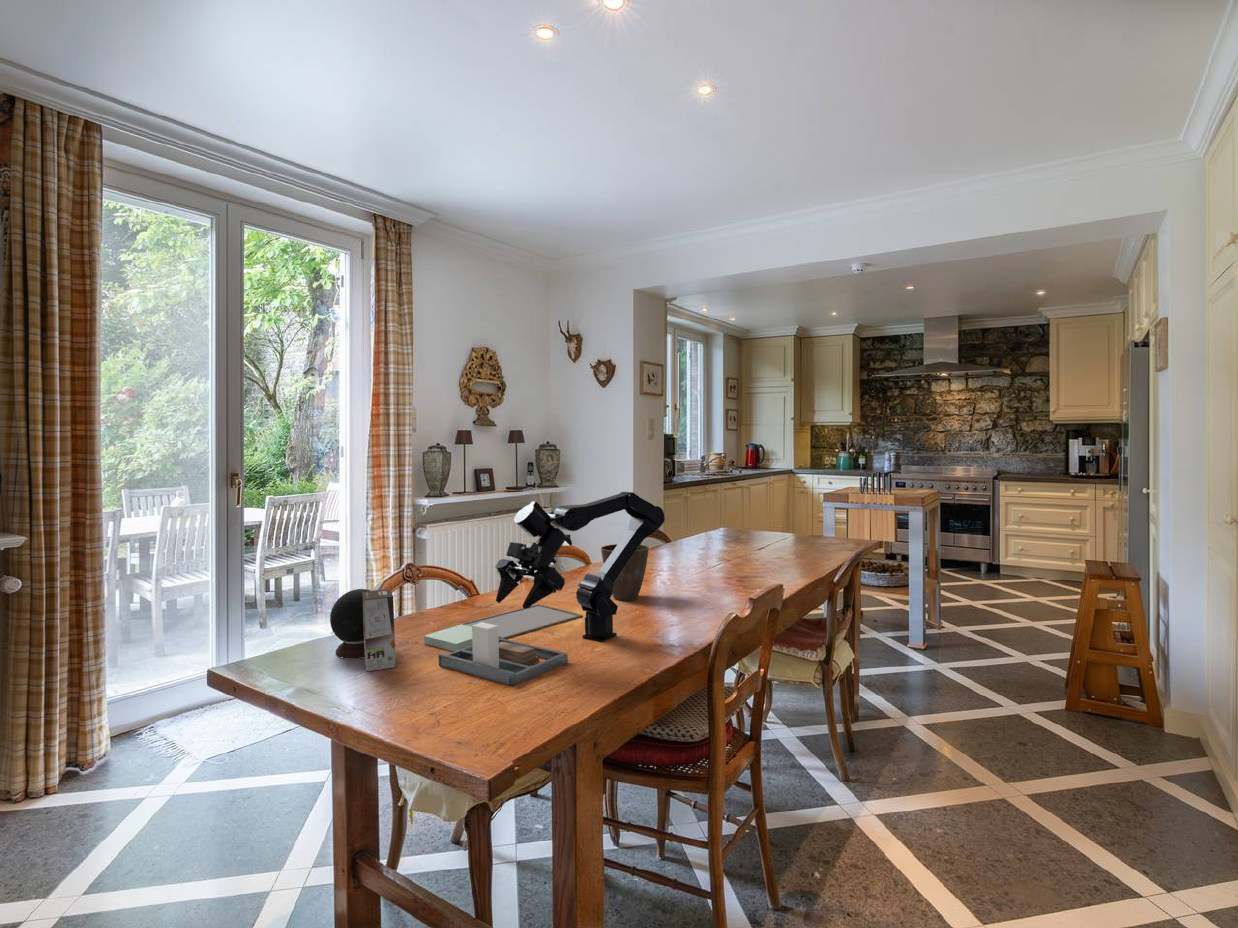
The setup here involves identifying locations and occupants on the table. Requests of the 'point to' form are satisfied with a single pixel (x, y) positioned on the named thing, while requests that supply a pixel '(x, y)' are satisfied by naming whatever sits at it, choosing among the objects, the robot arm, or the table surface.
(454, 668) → the offcut tray
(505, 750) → the table surface
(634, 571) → the plant pot
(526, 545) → the robot arm
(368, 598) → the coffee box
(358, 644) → the black sphere with base
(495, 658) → the tall white cuboid
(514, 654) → the offcut stack
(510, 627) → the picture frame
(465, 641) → the green board
